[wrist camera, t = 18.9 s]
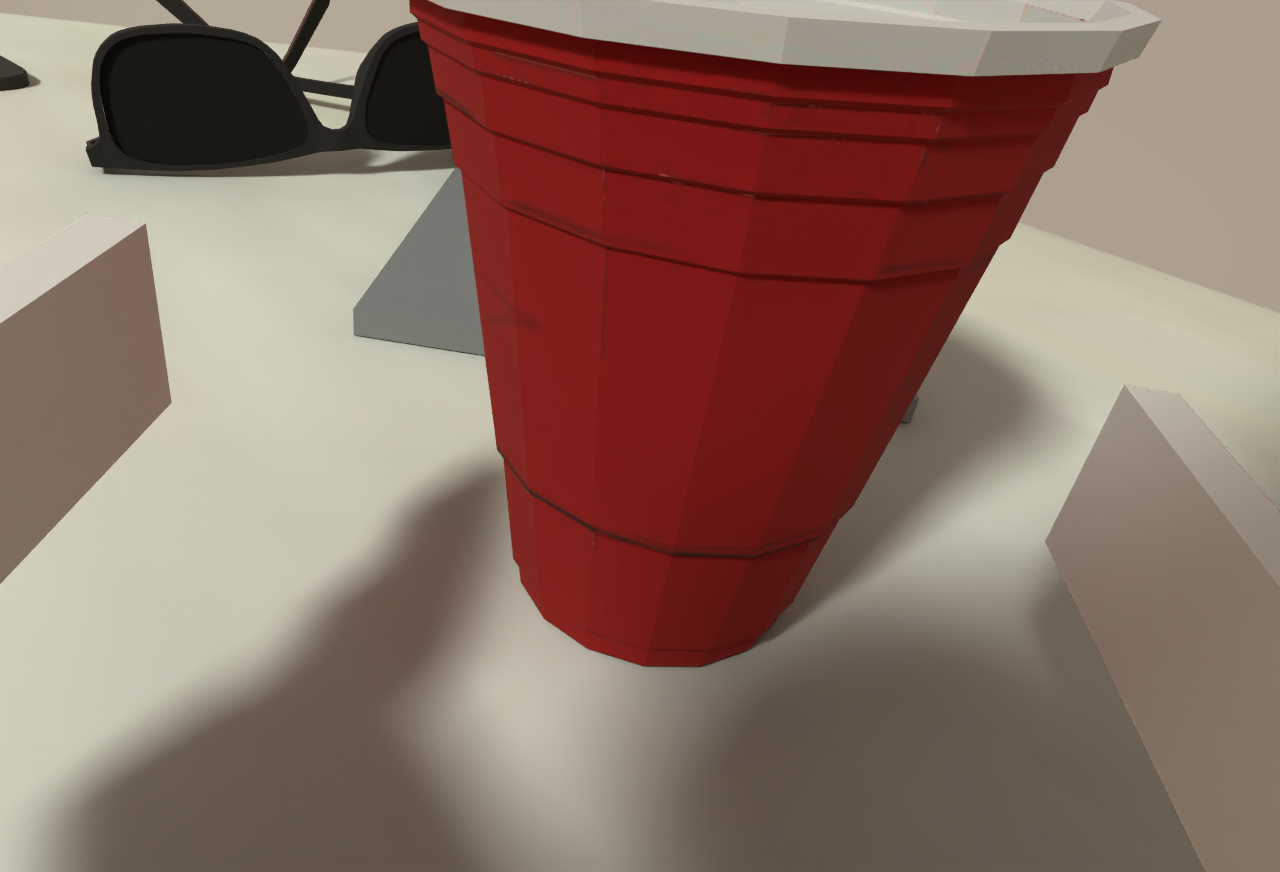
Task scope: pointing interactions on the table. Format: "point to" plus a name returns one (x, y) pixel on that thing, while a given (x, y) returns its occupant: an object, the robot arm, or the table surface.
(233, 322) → the table surface
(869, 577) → the table surface
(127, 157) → the sunglasses
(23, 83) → the phone
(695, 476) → the plastic cup
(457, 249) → the mat
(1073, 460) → the table surface
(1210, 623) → the robot arm
